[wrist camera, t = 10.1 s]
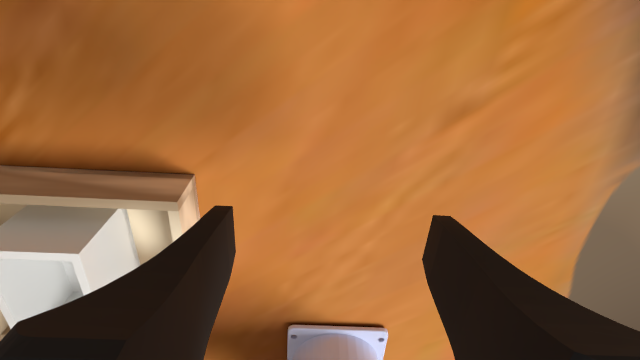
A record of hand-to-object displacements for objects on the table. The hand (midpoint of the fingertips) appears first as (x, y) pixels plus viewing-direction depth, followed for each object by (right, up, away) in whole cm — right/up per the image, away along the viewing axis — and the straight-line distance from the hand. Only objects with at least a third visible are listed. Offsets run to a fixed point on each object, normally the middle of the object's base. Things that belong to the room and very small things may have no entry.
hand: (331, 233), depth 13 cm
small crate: (-16, -3, +11) cm, 19 cm away
